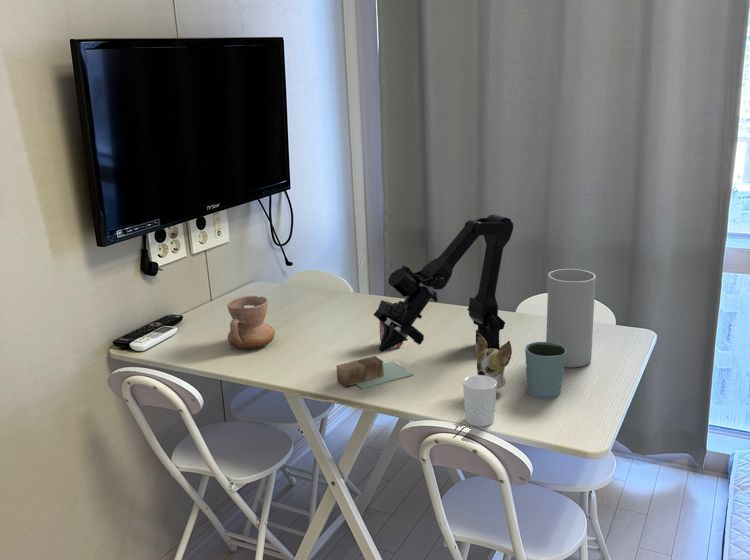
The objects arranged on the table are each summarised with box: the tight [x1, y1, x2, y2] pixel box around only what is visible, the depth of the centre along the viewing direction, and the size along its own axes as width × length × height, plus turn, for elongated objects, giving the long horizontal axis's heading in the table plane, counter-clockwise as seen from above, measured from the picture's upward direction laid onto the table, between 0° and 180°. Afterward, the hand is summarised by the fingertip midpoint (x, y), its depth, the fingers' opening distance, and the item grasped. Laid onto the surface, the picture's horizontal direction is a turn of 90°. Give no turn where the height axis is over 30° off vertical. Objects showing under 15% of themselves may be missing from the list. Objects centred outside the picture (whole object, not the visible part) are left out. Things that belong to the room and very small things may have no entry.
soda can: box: [378, 319, 404, 350], centre depth 222 cm, size 7×7×12 cm
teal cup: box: [524, 341, 567, 400], centre depth 188 cm, size 10×10×12 cm
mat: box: [355, 360, 414, 390], centre depth 204 cm, size 16×11×1 cm
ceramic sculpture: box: [474, 333, 513, 391], centre depth 189 cm, size 11×9×15 cm
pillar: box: [336, 355, 384, 388], centre depth 201 cm, size 4×4×12 cm
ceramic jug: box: [226, 295, 276, 350], centre depth 227 cm, size 18×14×14 cm
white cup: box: [462, 374, 498, 427], centre depth 175 cm, size 8×8×10 cm
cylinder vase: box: [545, 268, 596, 369], centre depth 205 cm, size 12×12×25 cm
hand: (380, 351), depth 202 cm, fingers closed
